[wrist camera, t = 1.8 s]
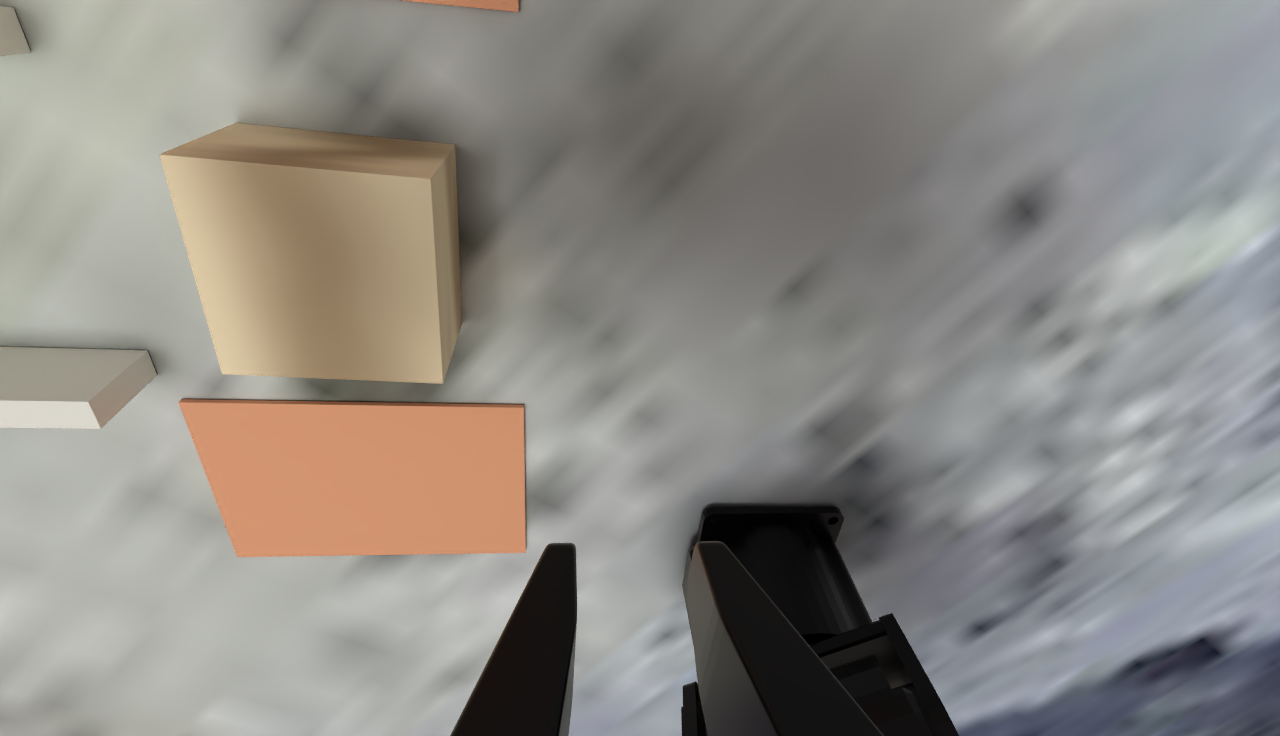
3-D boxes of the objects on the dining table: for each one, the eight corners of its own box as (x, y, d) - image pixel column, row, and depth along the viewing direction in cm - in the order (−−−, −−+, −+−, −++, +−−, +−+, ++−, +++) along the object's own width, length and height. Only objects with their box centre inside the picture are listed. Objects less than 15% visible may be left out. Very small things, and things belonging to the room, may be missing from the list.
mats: (512, -450, 12) (511, -457, 12) (525, 548, 27) (525, 552, 27) (-188, -588, 11) (-201, -597, 10) (239, 553, 26) (237, 556, 26)
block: (456, 143, 18) (430, 179, 15) (462, 320, 21) (442, 383, 18) (238, 121, 17) (159, 154, 14) (279, 310, 20) (221, 374, 17)
